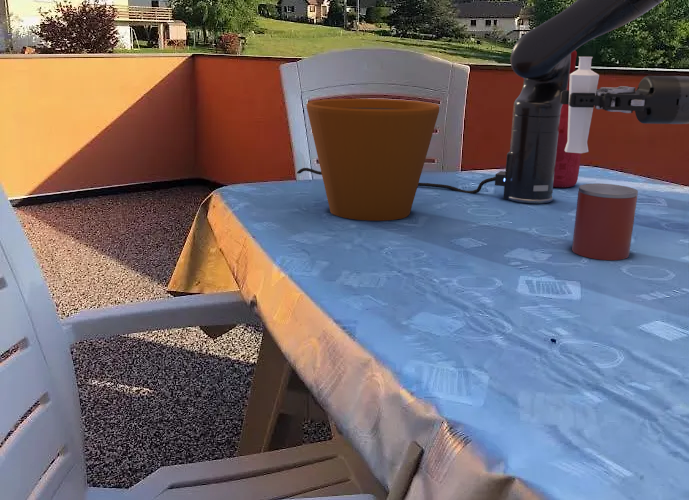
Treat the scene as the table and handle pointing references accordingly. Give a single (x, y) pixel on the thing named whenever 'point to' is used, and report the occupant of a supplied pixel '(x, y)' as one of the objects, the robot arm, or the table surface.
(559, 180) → the wine bottle
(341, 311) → the table surface
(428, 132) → the flower pot
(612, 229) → the tin can
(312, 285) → the table surface
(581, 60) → the perfume bottle
